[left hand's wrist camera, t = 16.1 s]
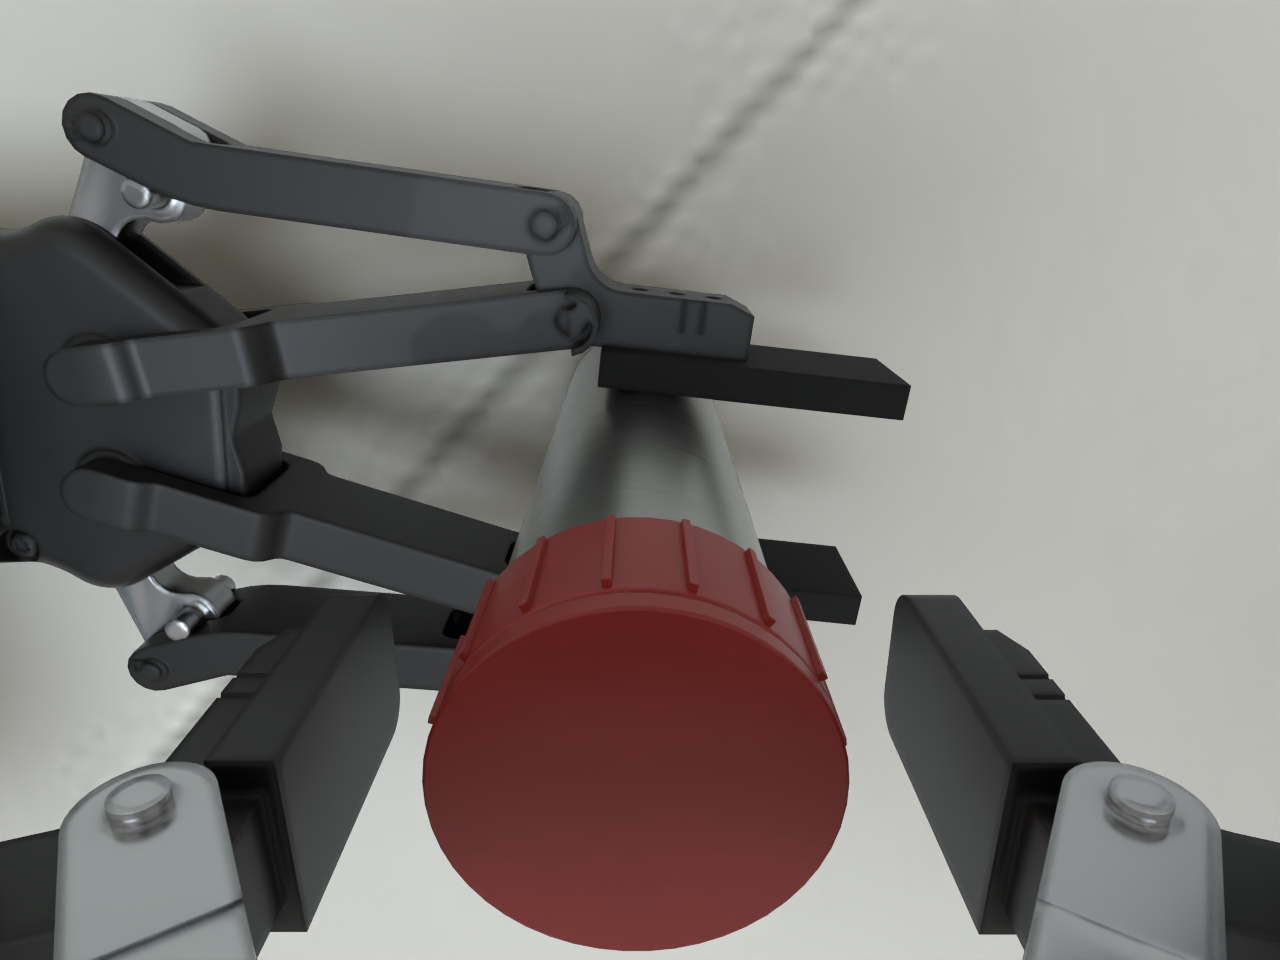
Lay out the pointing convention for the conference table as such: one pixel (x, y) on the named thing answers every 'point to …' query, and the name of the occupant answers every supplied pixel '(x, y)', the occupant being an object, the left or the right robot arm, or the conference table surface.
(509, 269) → the conference table surface
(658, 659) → the lid
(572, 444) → the silver metal cylinder
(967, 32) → the conference table surface
